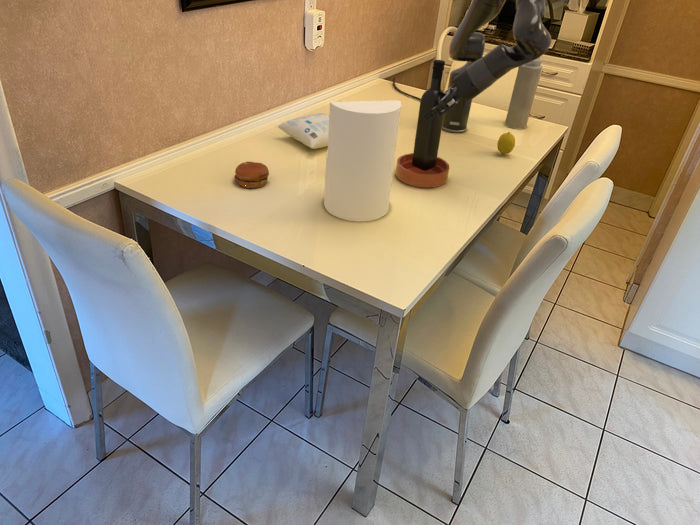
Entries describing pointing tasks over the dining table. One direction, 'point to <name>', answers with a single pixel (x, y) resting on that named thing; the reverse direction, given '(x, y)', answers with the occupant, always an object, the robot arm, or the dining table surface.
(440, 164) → the dish
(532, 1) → the robot arm
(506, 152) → the lemon
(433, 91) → the wine bottle
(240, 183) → the burger
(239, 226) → the dining table surface
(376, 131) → the cylinder
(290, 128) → the pouch
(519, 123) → the thermos bottle
